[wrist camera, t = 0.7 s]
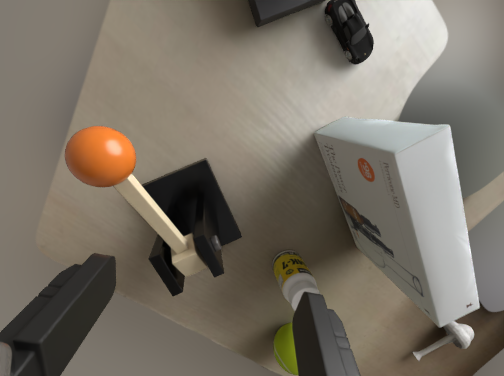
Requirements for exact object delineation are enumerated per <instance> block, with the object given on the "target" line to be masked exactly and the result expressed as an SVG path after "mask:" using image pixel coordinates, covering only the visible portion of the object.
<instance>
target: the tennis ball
mask: <svg viewBox="0 0 504 376" xmlns="http://www.w3.org/2000/svg"><path fill="white" fill-rule="evenodd" d="M273 349H274V354H275V357H276V360H277V362H278V363H279V365H280V366H281V367H282V368H283V369H284V370H285V371H287V372H288V373H290V374H294V375H298V368H297V360H296V353H295V346H294V339H293V332H292V323H287V324H285V325H283V326H282V327H281V328H280V329H279V330H278V331H277V333H276V335H275V338H274V343H273Z"/></svg>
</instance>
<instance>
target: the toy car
mask: <svg viewBox="0 0 504 376" xmlns="http://www.w3.org/2000/svg"><path fill="white" fill-rule="evenodd" d="M325 15H326V16H325V19H326V22H327V23H328V24H329V25H331V28H332V30H333V32H334V33H335V35H336V37H337V38H338V40H339V42H340V44H341V47H342V49H343V51H345V56H346V57H347V59H349V62H351V63H353V64H359V63H361V62H363V61H364V60H366V59H367V58H368V57H369V56H370V54H371V53H372V50H373V44H374V42H373V37H372V35H371V33H370V31H369V29H368V27H369V23H368V24H367V25H366V23H365V21H364V19H363V17H362V15H361V13H360V11H359V9H358V7H357V5H356V3H355V0H330V1H329V2H328V3H327V6H326V8H325ZM332 24H333V25H332Z"/></svg>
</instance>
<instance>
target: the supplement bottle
mask: <svg viewBox="0 0 504 376" xmlns="http://www.w3.org/2000/svg"><path fill="white" fill-rule="evenodd" d="M272 268H273V271H274V274H275V276H276V279H277V281H278V283H279V286H280V288H281V290H282V293H283V295H284V297H285V298H286V299H287V300H288V301H289V302H290V304H291V306H292V308H293V310H294V311H296V308H297V306H298V303H299V301H300V299H301V296H302V294H303V292H311V293H316V294H320V292H319V290H318V288H317V284H316V281H315V279H314V277H313V275H312V274H311V272H310V271H309V269H308V268H307V266H306V265H305V263H304V262H303V260H302V258H301V257H300V256H299V254H298V253H296V252H295V251H291V250H287V251H283V252H281V253H279V254H278V255H276V257H275V258H274V260H273V263H272Z"/></svg>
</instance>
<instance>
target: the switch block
mask: <svg viewBox="0 0 504 376" xmlns="http://www.w3.org/2000/svg"><path fill="white" fill-rule="evenodd" d="M248 1H249V4H250V8H251V11H252V14H253V17H254V20H255V23H256V26H257V27H259V26H262V25H264V24H267V23H269V22H272V21H275V20H277V19H280V18H282V17H285V16H287V15H290V14H292V13H295V12H297V11H300V10H303V9H305V8H308V7H310V6H313V5H315V4H318V3H320V2H323V1H325V0H248Z"/></svg>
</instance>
